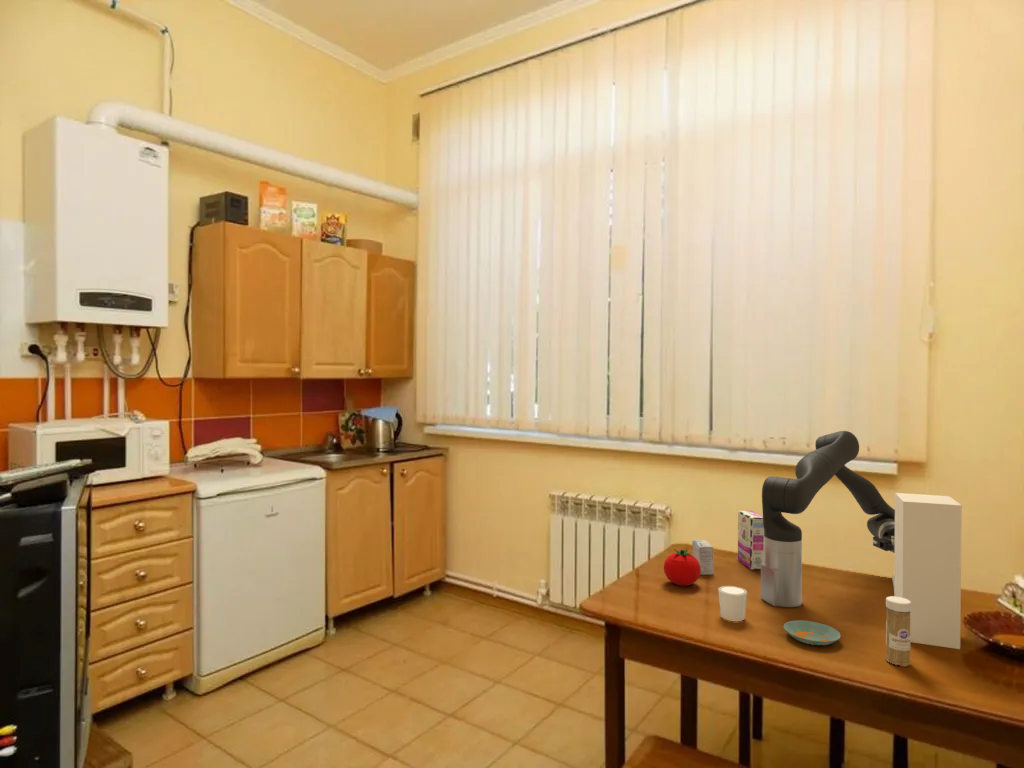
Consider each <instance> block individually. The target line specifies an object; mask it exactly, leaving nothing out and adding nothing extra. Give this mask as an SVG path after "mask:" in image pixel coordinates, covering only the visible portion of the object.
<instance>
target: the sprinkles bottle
mask: <svg viewBox="0 0 1024 768" xmlns="http://www.w3.org/2000/svg"><path fill="white" fill-rule="evenodd" d="M885 606H886V607H885V608H886V620H885V646H886V647H885V648H886V652H885V653H886V654H885V660H886V662H887V661H888V663H889V662H890V663H889V664H891V663H892V664H891V665H893V664H895V666H897V665H900V666H899V667H909V666H910V665H911V661H910V660H911V642H910V613H911V612H910V611H911V602H910V601H909V600H908V599H905V598H902V597H896V596H894V595H891V596H887V597H886V598H885ZM908 665H909V666H908Z"/></svg>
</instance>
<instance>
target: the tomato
mask: <svg viewBox="0 0 1024 768" xmlns="http://www.w3.org/2000/svg"><path fill="white" fill-rule="evenodd" d="M673 550H674V552H672V553H670V555H668V556H667V557H666V559H665V560H664V563H663V571H664V574H665V577H666V578H667V579H668V580H669V581H670V582H671V583H673V584H675V585H678V586H683V587H684V586H690V585H693V584H694V583H696V581H698V580H699V578H700V576H701V575H700V574H701V567H700V564H699V561H698V560H697V559H696V558H695V557H694V556H693V554H692V552H688V548H687V549H685V550H684V549H680V550H676V549H674V548H673Z"/></svg>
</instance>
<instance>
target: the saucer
mask: <svg viewBox="0 0 1024 768" xmlns="http://www.w3.org/2000/svg"><path fill="white" fill-rule="evenodd" d="M783 629H784V630H785V631H786V632H787V633H788V634H789V635H790V636H791V637H792V638H793V639H795V640H797V641H798V642H800V643H802V642H803V643H802V644H805V643H806V645H809V644H811V645H810V646H814V645H823V646H827V645H830V644H834V643H835V642H837V641H838V640H840V638H841V636H842V635H841V633H840V632H839V631H838V630H837V629H836V628H834V627H832V626H830V625H827V624H824V623H820V622H817V621H810V620H801V619H799V620H798V619H797V620H790V621H787V622H785V623H784V624H783ZM805 631H806V632H813V633H817V634H813V635H811V634H807V635H808V636H806V637H805V639H804V638H801V637H798V636H795V635H793V634H794V633H796V632H805ZM822 636H825V637H827V638H822ZM808 639H809V640H808ZM825 639H828V640H829V641H821V640H825ZM814 640H816V641H814Z"/></svg>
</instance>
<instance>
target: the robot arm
mask: <svg viewBox="0 0 1024 768" xmlns="http://www.w3.org/2000/svg"><path fill="white" fill-rule="evenodd" d="M859 452H860V442H859V440H858V438H857V437H856V435H855V434H854V433H852V432H850V431H849V430H839V431H835V432H832V433H828V434H825V435H822V436H821V435H820V436H819V437H817V438H816V440H815V450H812V451H810V452H808V453H806V455H804V456H803V457H802V458H800V460H799V461H798V462H797V463H796V465H795V469H794V471H795V473H794V474H795V477H796V478H788V477H780V476H768V477H766V479H765V480H764V482H763V484H762V487H761V505H762V516H763V527H764V563H763V564H761V570H760V599H761V600H763V601H765V602H766V603H768V604H770V605H771V606H773V607H783V608H795V607H796V608H797V607H800V606H801V605H802V604H803V602H802V600H803V599H802V593H803V590H802V586H803V581H802V580H803V578H802V574H803V573H802V572H803V571H802V566H803V565H802V563H803V561H802V560H803V559H802V555H803V553H802V552H803V551H802V550H803V549H802V548H803V542H802V541H803V532H802V529H801V528H800V526H799V525H797V524H795V523H793V522H791V521H789V520H788V519H787V518H786V517H785V516H784V515H783V513H785V514H790V515H791V514H792V515H798V514H799V515H801V514H802V513H803V512H805V511H806V509H808V507H809V506H810V504H811V502H812V500H813V499H814V498H815V497H816V495H817V493H819V491H820V490H821V489H822V488H823V487H824V486H825V485H826V484H828V483H829V481H830V480H832V478H833V477H834V476H835V477H836V478H837V479H838V480H839V481H840V482H841V483H842V484H843V485H844V487H846V489H847V490H848V491H849V492H850V494H852V496H853V498H854V500H855V501H856V503H857V504H858V506H859V507H860V508H861V510H862V511H863V512H864V513H865V514H866V515H869V516H872V517H870V518H868V520H867V522H866V527H867V529H868V531H869V533H870V534H871V535H872V536H873V537H872V546H873V547H876V548H877V549H880V550H882V551H885V552H888V551H889V552H892V553H893V554H895V508H893V507H892V506H891V505H890V504H889V503H888V502H886V500H885V499H884V498H883V496H882V495H881V493H880V492H879V490H878V488H877V487H876V485H875V484H874V483H872V482H871V481H870V480H868V479H867V478H865V477H864V476H862V475H860V474H859V473H857V472H855V471H853V470H852V469H850V468H849V467H847V465H846V464H848V463H849V462H851V461H853V460H855V459H856V458H857V457H858V456H859Z"/></svg>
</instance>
